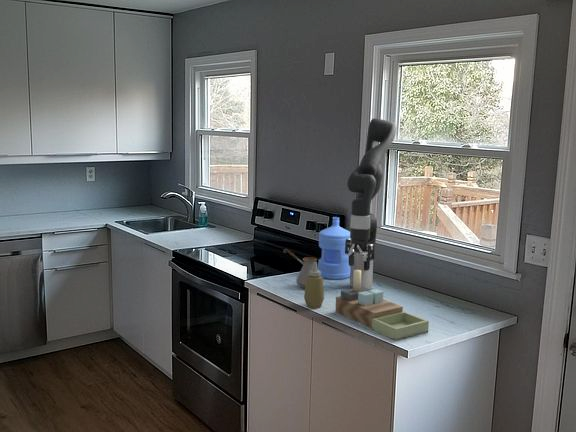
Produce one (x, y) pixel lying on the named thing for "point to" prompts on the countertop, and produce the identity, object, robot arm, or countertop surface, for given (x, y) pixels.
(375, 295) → the light blue block
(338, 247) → the water jug
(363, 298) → the pale blue cube
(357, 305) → the flat wooden board
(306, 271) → the coffee pot
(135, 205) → the countertop surface
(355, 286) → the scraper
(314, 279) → the squeeze bottle
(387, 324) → the bin
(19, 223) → the countertop surface
